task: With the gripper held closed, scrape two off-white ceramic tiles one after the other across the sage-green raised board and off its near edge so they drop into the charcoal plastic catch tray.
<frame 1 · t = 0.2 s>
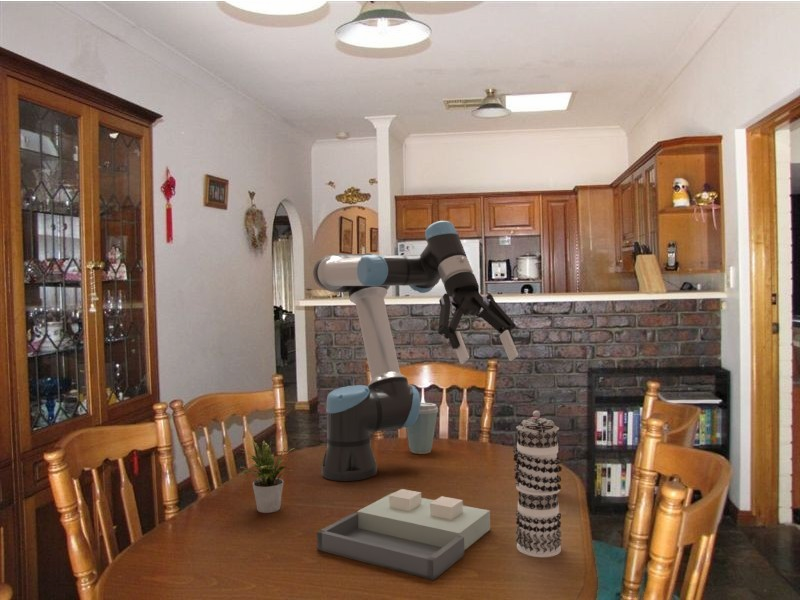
hand: (490, 359, 141), 35 cm above the table, tool tilted 35°, fingers open, 13 cm apart
tile b: (446, 513, 133), point 4 cm above the table, touching board
black and white jar: (538, 549, 125), on the table
disposable coffee cup: (421, 452, 198), on the table
tray: (389, 552, 124), on the table
board: (423, 529, 135), on the table
tile a: (405, 505, 139), point 4 cm above the table, touching board
house plant: (263, 509, 150), on the table
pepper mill: (537, 492, 159), on the table
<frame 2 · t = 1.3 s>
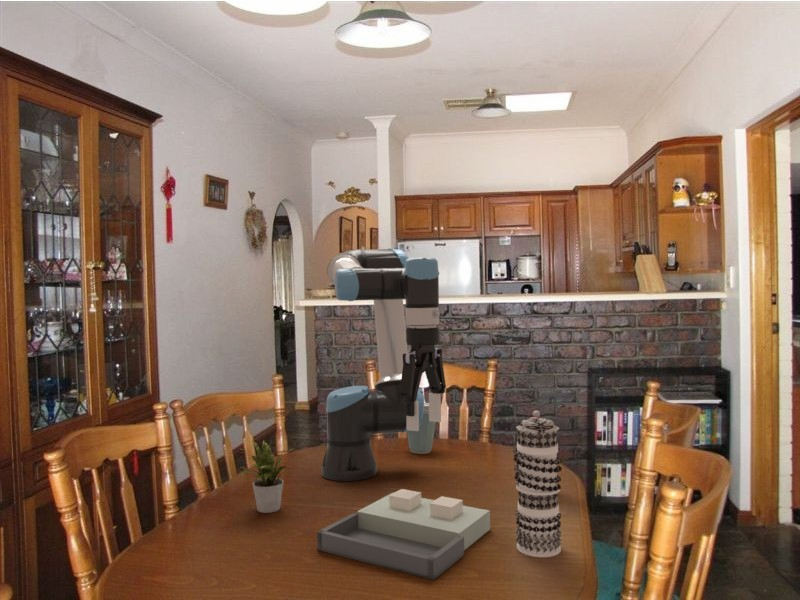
hand: (424, 425, 146), 20 cm above the table, tool pointing down, fingers open, 9 cm apart
nothing on the table moved.
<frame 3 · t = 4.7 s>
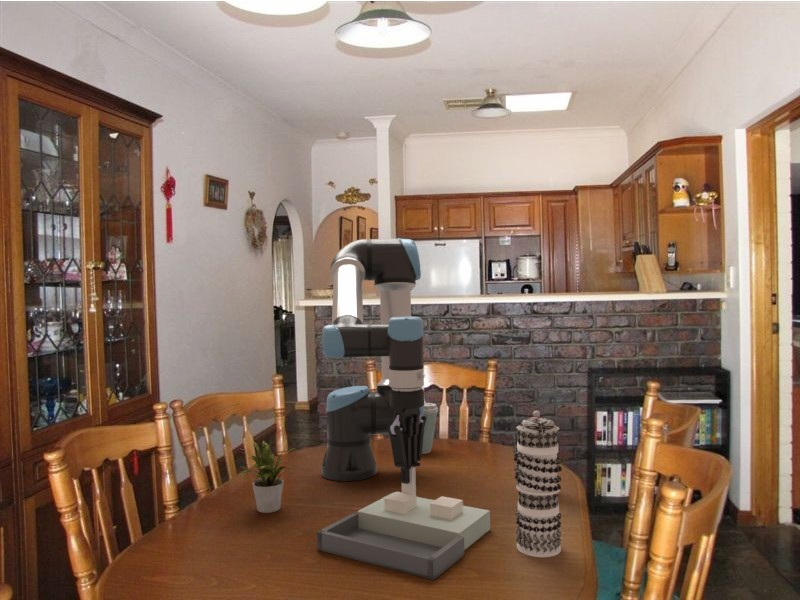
hand: (408, 496, 140), 6 cm above the table, tool pointing down, fingers closed
tile a: (400, 508, 137), point 4 cm above the table, touching board
everything else where it was.
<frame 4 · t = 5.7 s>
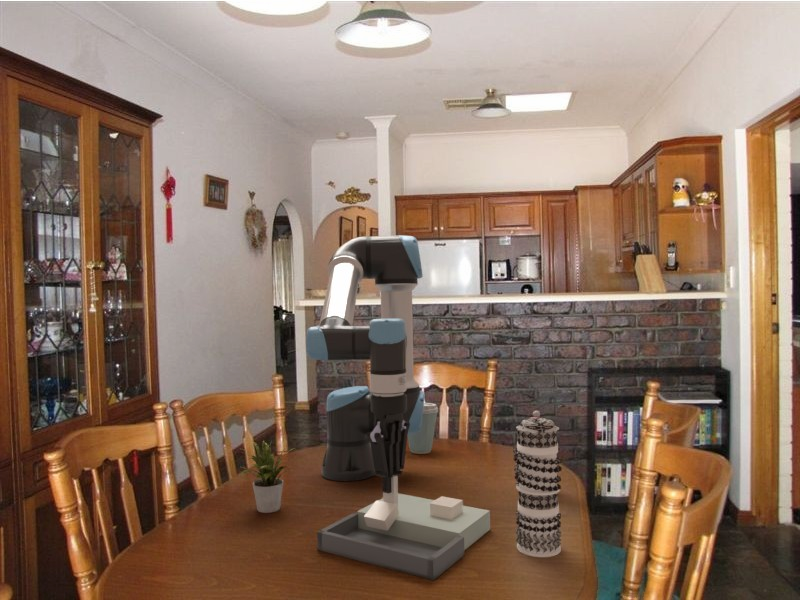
hand: (390, 506, 134), 6 cm above the table, tool pointing down, fingers closed
tile a: (383, 520, 131), point 4 cm above the table, tilted 22°, touching board
everything else where it was.
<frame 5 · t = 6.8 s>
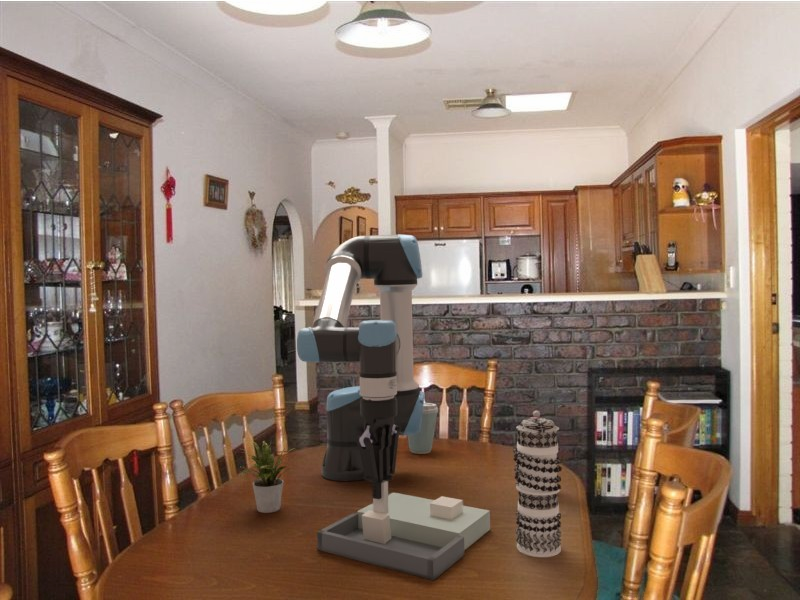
hand: (380, 512, 131), 5 cm above the table, tool pointing down, fingers closed
tile a: (379, 524, 130), point 3 cm above the table, tilted 97°, touching gripper, tray
everything else where it was.
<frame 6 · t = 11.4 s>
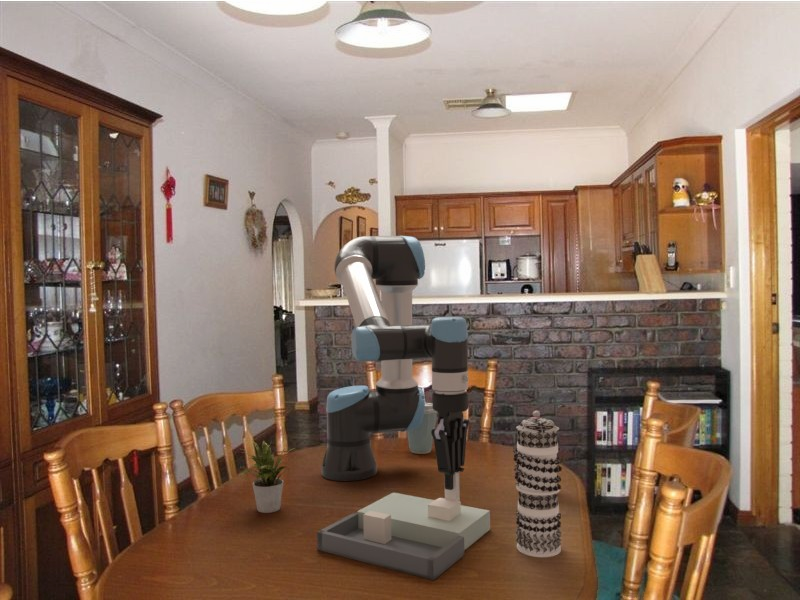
hand: (452, 503, 135), 6 cm above the table, tool pointing down, fingers closed
tile b: (444, 515, 133), point 4 cm above the table, touching gripper
tile a: (380, 524, 131), point 3 cm above the table, tilted 90°, touching tray
everything else where it was.
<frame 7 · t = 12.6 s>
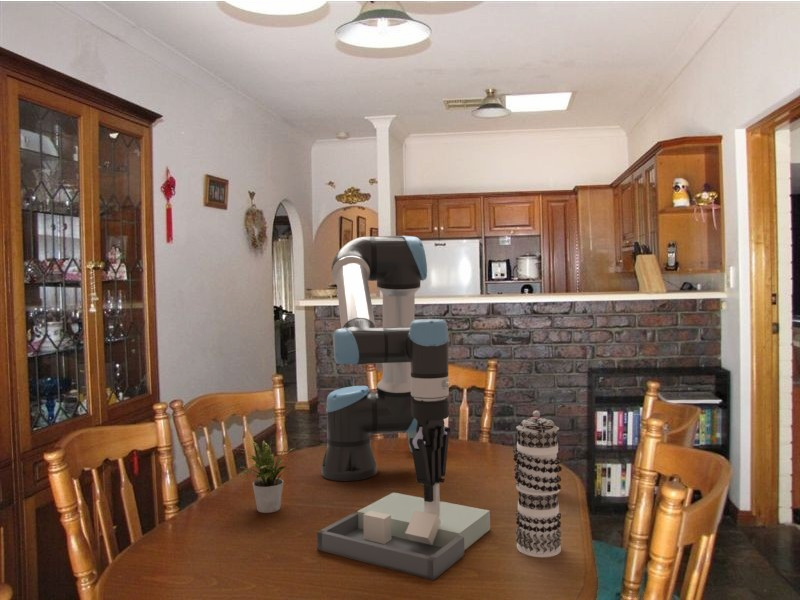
hand: (432, 515, 128), 6 cm above the table, tool pointing down, fingers closed
tile b: (425, 530, 126), point 3 cm above the table, tilted 40°
everything else where it was.
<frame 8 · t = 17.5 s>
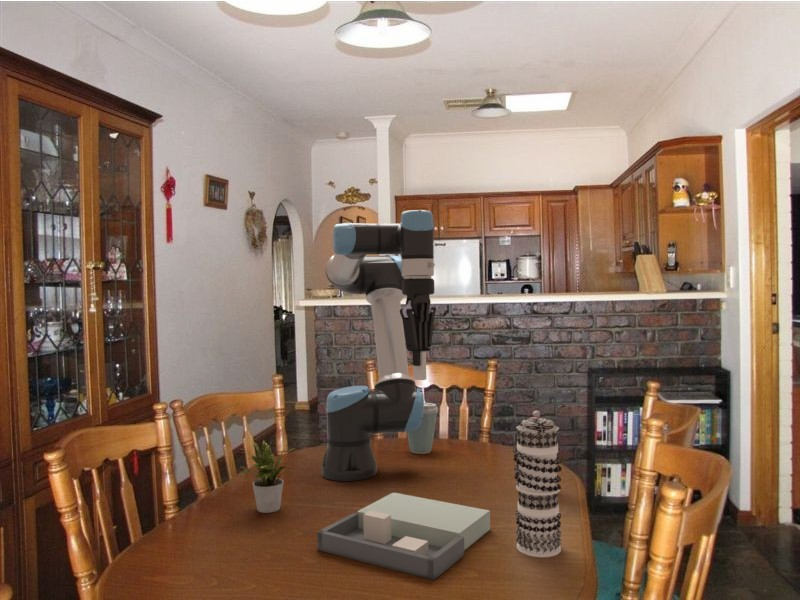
hand: (419, 379, 150), 29 cm above the table, tool pointing down, fingers closed
tile b: (410, 543, 121), point 3 cm above the table, tilted 180°, touching tray
everything else where it was.
at the end: tile a inside the target area on the tray (6.5 cm from its centre), point 3.0 cm above the tray's base; tile b inside the target area on the tray (5.0 cm from its centre), point 3.0 cm above the tray's base; tile a touching tray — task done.
